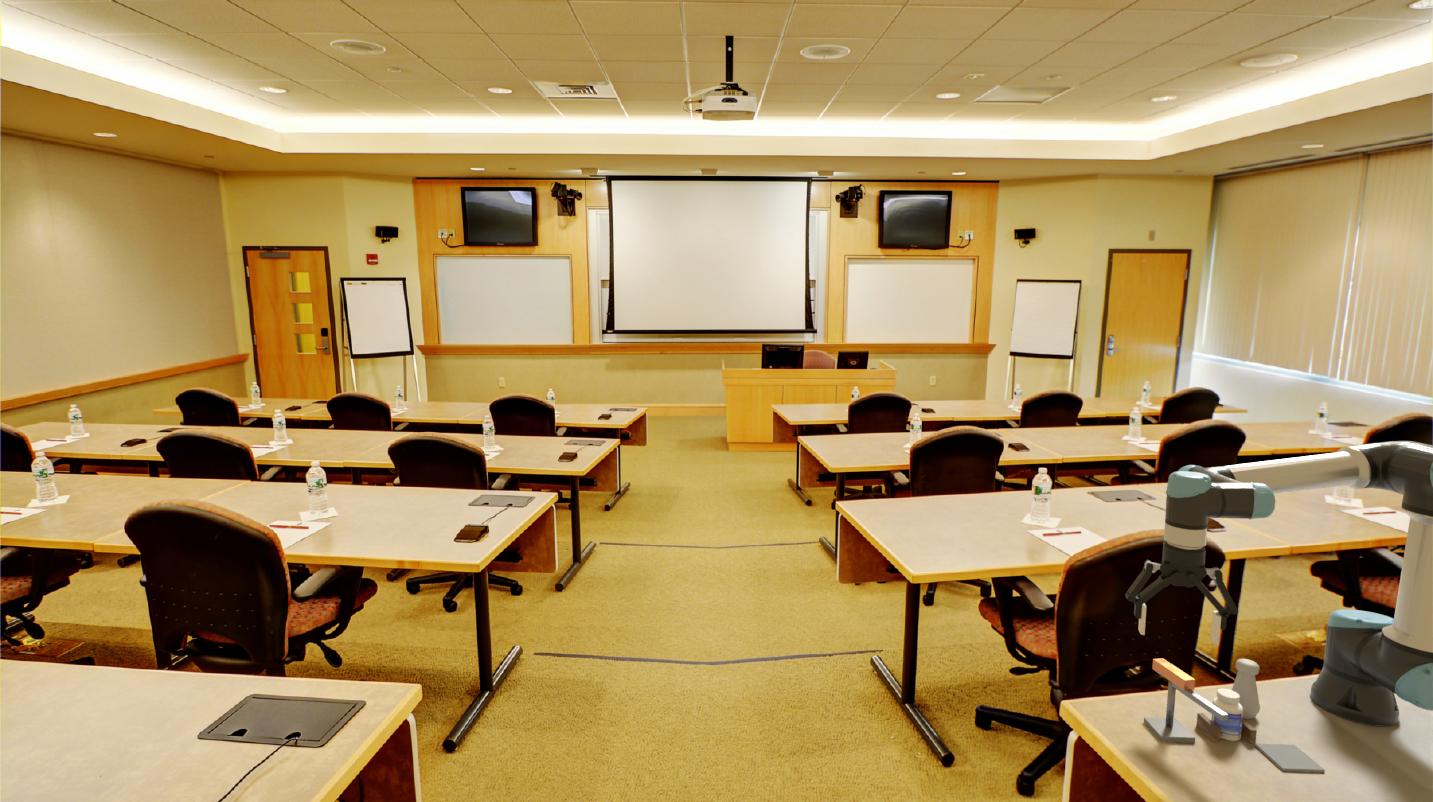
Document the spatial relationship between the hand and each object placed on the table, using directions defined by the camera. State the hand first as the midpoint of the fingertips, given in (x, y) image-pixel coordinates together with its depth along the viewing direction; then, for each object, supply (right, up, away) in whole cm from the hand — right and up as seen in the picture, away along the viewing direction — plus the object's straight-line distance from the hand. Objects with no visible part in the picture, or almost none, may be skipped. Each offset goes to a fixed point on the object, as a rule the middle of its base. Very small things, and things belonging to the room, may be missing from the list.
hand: (1177, 637), depth 148 cm
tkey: (+1, -21, -2) cm, 21 cm away
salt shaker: (+22, -21, +9) cm, 32 cm away
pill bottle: (+12, -22, +2) cm, 26 cm away
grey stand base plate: (0, -22, +3) cm, 23 cm away
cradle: (+12, -22, +2) cm, 25 cm away
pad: (+19, -23, -6) cm, 31 cm away
